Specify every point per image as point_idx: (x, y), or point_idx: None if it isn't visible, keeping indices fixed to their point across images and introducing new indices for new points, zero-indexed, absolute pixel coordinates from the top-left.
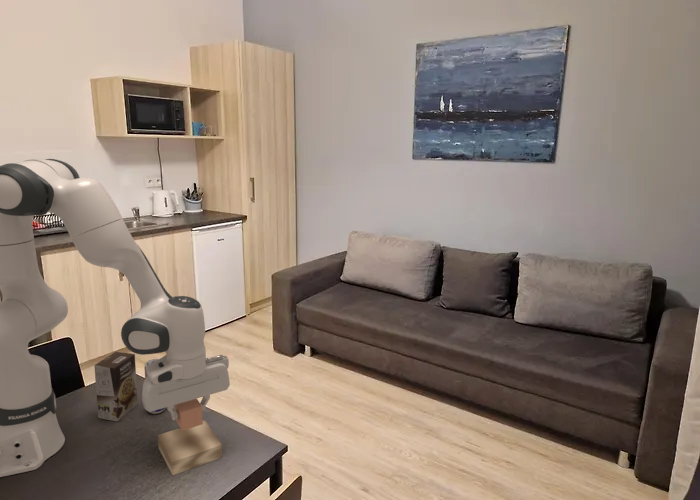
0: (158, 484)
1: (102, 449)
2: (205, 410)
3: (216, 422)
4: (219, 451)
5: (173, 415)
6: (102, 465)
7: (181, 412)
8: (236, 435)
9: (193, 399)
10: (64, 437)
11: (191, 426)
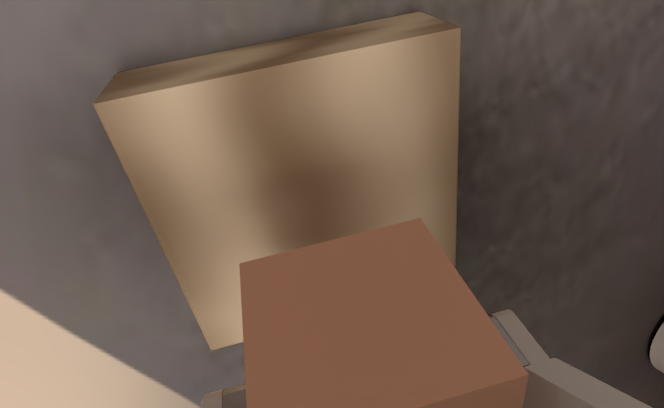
0: None
1: (592, 272)
2: (203, 397)
3: (153, 346)
4: (123, 83)
5: (540, 352)
6: (629, 191)
7: (523, 371)
8: (29, 242)
9: None
10: (656, 339)
11: (342, 246)
